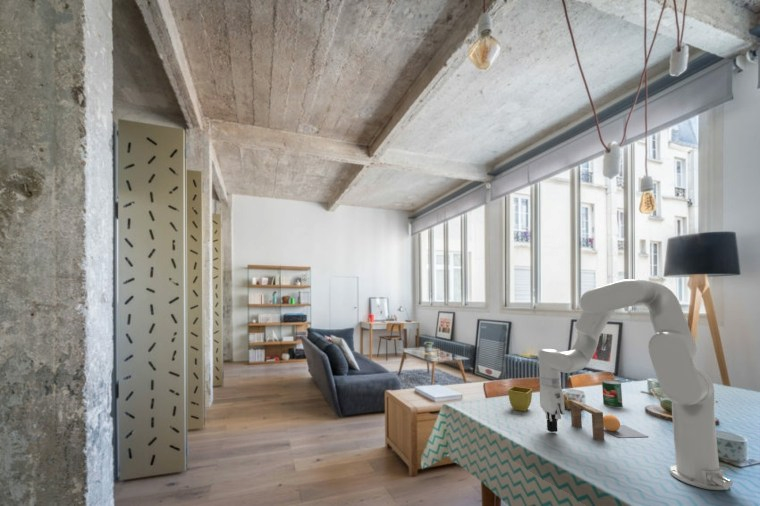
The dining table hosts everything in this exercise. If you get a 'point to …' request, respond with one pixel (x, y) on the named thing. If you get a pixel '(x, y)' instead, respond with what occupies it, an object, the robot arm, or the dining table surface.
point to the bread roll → (567, 403)
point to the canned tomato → (612, 393)
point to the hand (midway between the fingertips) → (552, 430)
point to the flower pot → (520, 398)
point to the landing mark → (626, 432)
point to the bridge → (596, 418)
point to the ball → (611, 423)
